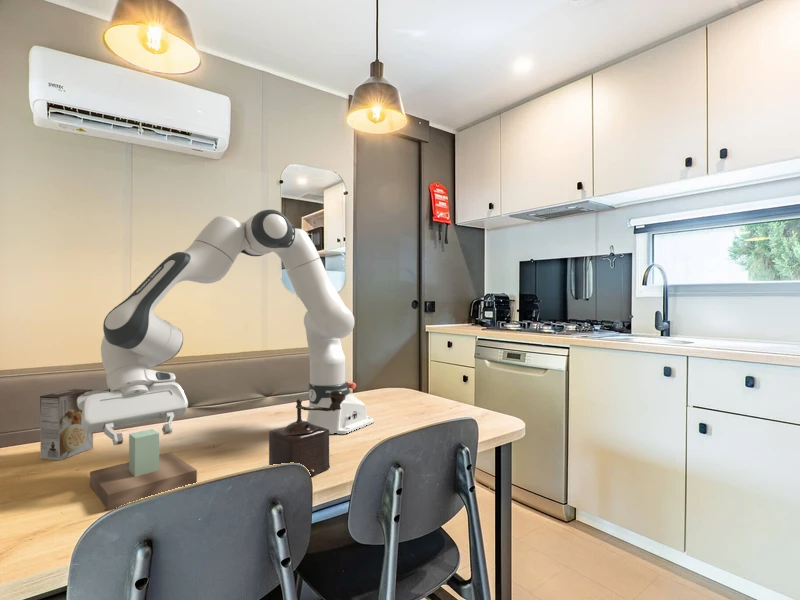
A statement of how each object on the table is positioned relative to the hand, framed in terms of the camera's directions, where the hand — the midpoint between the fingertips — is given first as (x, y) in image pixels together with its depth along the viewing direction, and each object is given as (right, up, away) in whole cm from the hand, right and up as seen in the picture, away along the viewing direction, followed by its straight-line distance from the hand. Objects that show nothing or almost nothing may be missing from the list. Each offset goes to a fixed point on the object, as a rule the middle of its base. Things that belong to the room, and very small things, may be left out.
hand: (144, 437), depth 89 cm
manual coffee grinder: (+34, -10, +9) cm, 36 cm away
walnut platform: (0, -10, 0) cm, 10 cm away
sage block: (0, -7, 0) cm, 7 cm away
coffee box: (-32, -11, +19) cm, 38 cm away
